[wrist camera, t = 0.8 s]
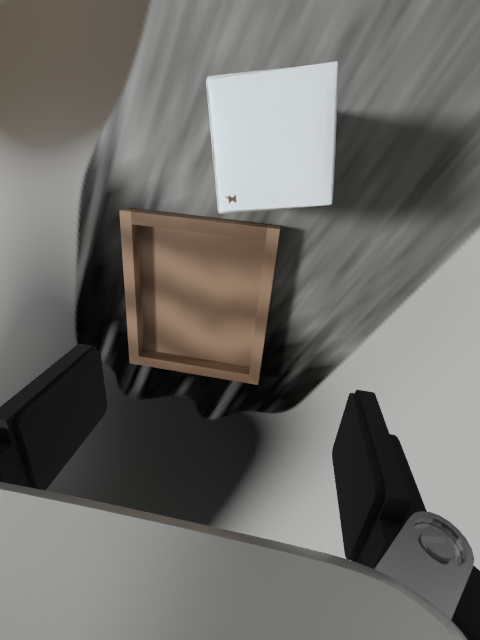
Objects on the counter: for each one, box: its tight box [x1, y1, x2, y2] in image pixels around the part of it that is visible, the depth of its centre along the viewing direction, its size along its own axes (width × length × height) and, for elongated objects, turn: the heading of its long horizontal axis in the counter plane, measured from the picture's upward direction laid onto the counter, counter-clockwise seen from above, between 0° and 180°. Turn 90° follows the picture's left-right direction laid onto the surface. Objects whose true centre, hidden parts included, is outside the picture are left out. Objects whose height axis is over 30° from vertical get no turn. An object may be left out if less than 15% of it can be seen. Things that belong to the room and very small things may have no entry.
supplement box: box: [206, 61, 338, 214], centre depth 24 cm, size 7×7×13 cm
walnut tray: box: [119, 208, 281, 385], centre depth 35 cm, size 18×16×2 cm
